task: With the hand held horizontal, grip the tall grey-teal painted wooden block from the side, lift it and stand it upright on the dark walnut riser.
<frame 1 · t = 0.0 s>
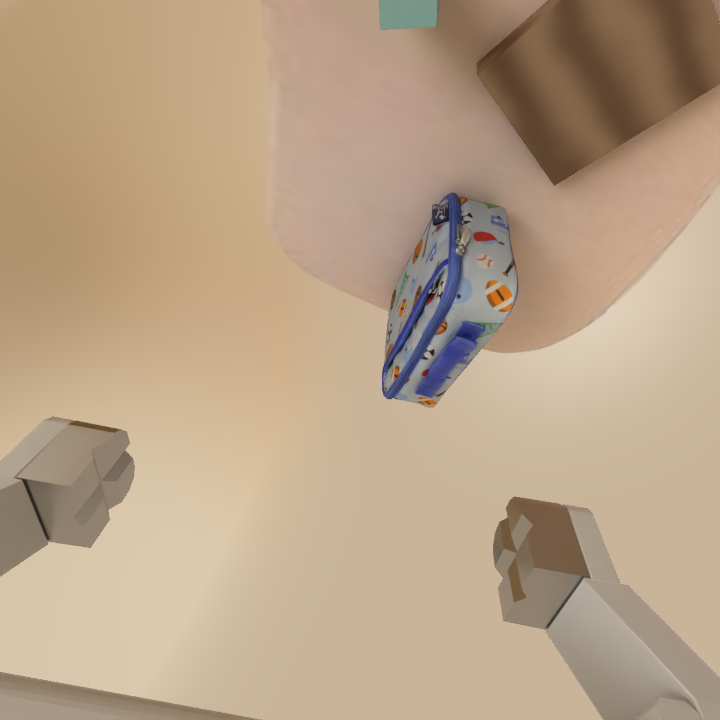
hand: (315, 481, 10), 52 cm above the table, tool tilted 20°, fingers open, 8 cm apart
walnut riser: (597, 62, 47), on the table
lunch box: (442, 254, 69), on the table
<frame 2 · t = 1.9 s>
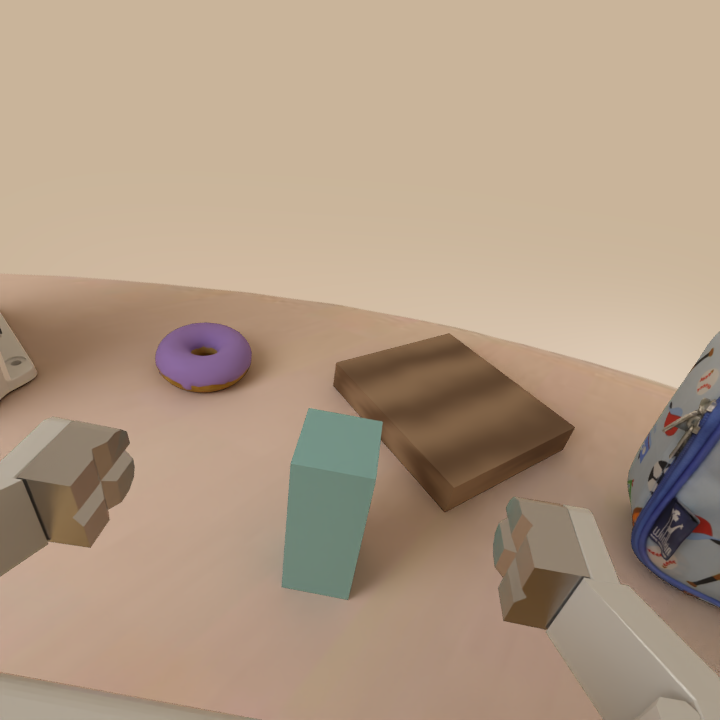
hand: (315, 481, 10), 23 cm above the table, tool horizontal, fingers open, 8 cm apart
donut: (205, 371, 49), on the table
walnut riser: (443, 416, 47), on the table
teal block: (321, 562, 32), on the table
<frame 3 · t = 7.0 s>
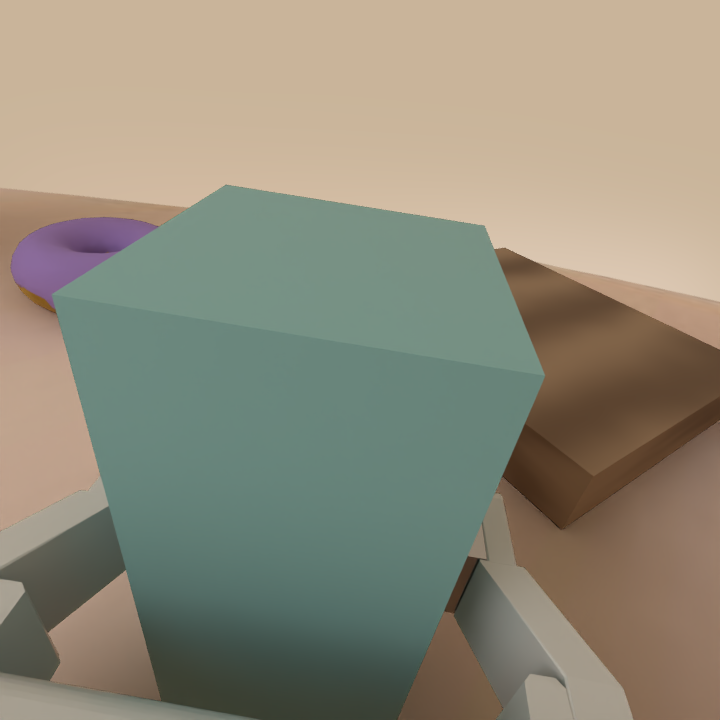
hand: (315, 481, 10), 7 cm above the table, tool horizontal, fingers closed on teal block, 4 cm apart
donut: (111, 294, 29), on the table
walnut riser: (515, 361, 28), on the table
teal block: (292, 668, 13), on the table, touching gripper
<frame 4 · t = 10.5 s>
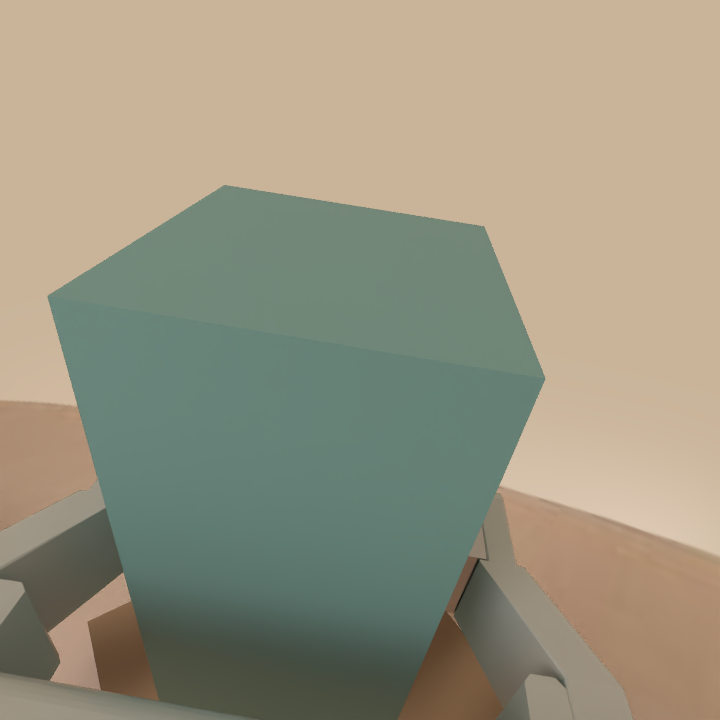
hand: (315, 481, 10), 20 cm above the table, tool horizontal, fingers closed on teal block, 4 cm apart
teal block: (292, 669, 13), point 13 cm above the table, touching gripper
when the fingers open (10 cm above the table, at t = 13.9 s): teal block stays where it is, resting on walnut riser.
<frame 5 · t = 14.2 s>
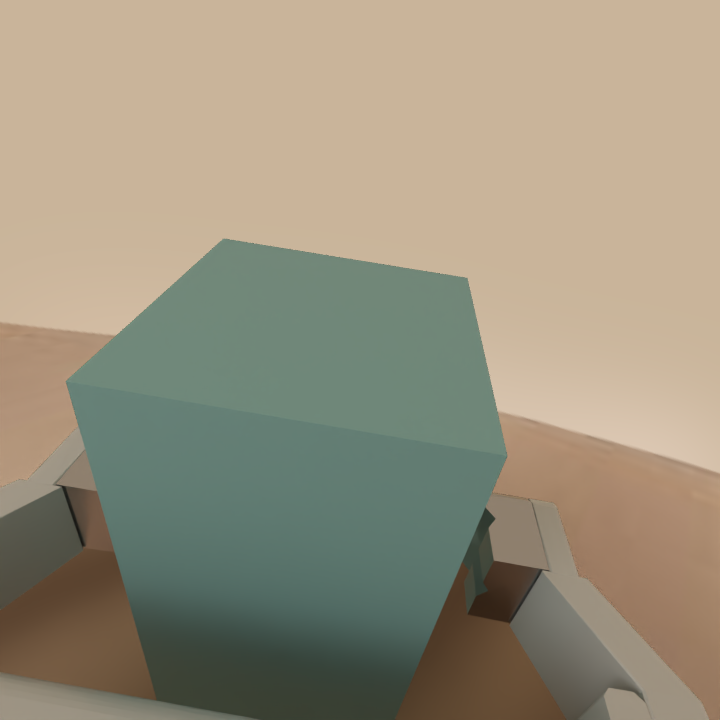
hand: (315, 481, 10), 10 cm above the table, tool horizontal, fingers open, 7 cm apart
teal block: (289, 684, 13), point 3 cm above the table, touching walnut riser
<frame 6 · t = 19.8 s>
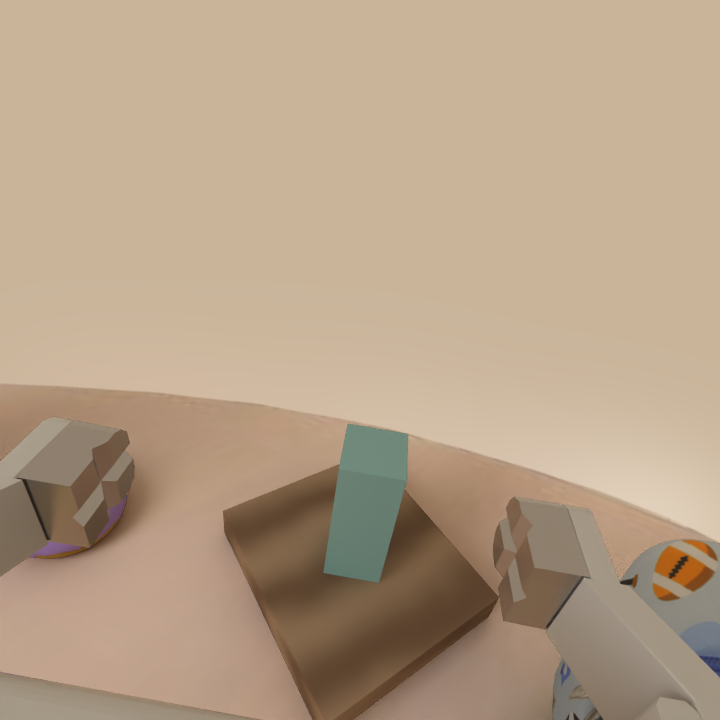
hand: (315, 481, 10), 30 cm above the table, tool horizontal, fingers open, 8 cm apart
donut: (72, 518, 41), on the table
walnut riser: (350, 572, 40), on the table
teal block: (354, 552, 38), point 3 cm above the table, touching walnut riser
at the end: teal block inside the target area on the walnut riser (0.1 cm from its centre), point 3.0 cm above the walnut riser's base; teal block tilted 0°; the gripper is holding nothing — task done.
